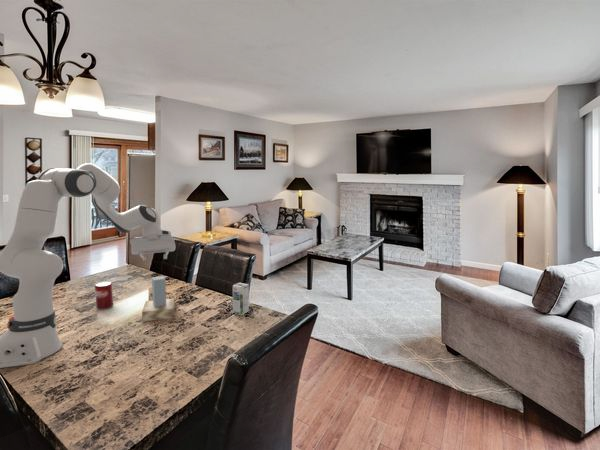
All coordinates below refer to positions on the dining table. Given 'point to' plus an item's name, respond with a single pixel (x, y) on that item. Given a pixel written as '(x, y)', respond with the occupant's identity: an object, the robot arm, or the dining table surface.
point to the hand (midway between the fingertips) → (155, 259)
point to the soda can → (103, 295)
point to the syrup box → (240, 298)
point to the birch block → (158, 311)
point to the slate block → (159, 291)
